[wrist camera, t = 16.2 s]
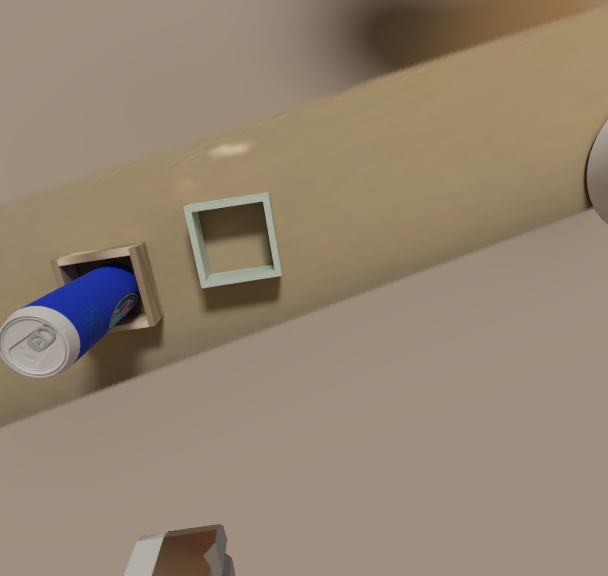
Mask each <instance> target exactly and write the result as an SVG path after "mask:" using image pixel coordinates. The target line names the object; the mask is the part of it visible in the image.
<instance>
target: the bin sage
mask: <svg viewBox="0 0 608 576" xmlns="http://www.w3.org/2000/svg"><path fill="white" fill-rule="evenodd" d="M262 201H263V204H264V210H265V216H266V222H267V228H268V234H269V240H270V246H271V251H272V257H273V263H274V264H272V265H266V266H259V267H253V268H247V269H240V270H234V271H227V272H221V273H215V274H211V270H210V266H209V261H208V256H207V252H206V247H205V242H204V238H203V233H202V228H201V224H200V219H199V214H198V211H203V210H210V209H216V208H223V207H229V206H236V205H243V204H249V203H256V202H262ZM183 208H184V212H185V217H186V221H187V226H188V230H189V235H190V239H191V244H192V248H193V252H194V257H195V261H196V266H197V270H198V275H199V279H200V284H201V288H207V287H214V286H220V285H227V284H233V283H239V282H246V281H252V280H259V279H265V278H271V277H278V276H282V268H281V262H280V256H279V250H278V244H277V238H276V232H275V225H274V219H273V213H272V207H271V201H270V195H269V192H267V193H260V194H254V195H247V196H241V197H234V198H228V199H221V200H214V201H208V202H201V203H195V204H189V205H187V206H184V207H183Z"/></svg>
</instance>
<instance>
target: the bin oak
mask: <svg viewBox="0 0 608 576" xmlns="http://www.w3.org/2000/svg"><path fill="white" fill-rule="evenodd" d="M128 255H130V258H131V261H132V265H133V269H134V272H135V276H136V280H137V284H138V287H139V291H140V295H141V298H142V302H143V306H144V310H145V313H141V314H135V315H128V316H124V317H123V318H122V319H121V320H120V321H119V322H118V323H117V324H116V325H114V326H113V327H112V328H111V329H110V330H109V331H108V332H107V333H113V332H120V331H126V330H132V329H139V328H145V327H151V326H156V324H157V323H158V322H159V321H160V319H161V318H162V317H163V312H162V308H161V304H160V300H159V296H158V292H157V289H156V285H155V281H154V277H153V273H152V269H151V265H150V261H149V257H148V253H147V250H146V246H145V243H138V244H132V245H125V246H119V247H112V248H106V249H99V250H93V251H86V252H80V253H73V254H67V255H64V256H61V257H59V258H56V259H54V260H51V261H50V262H51V265H52V268H53V271H54V274H55V277H56V280H57V283H58V286H59V288H60V287H62V286H64V285H66V284H68V283H70V282H72V281H74V280H76V279H77V278H79V274H78V270H77V267H76V263H82V262H89V261H95V260H102V259H108V258H115V257H121V256H128ZM107 333H106V334H107Z"/></svg>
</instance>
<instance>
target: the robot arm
mask: <svg viewBox="0 0 608 576" xmlns="http://www.w3.org/2000/svg"><path fill="white" fill-rule="evenodd" d="M587 187H588V192H589V196H590V200H591V202H592V205H593V207H594V209H595V210H596V212H597V213H598V215H599V216H600V217H601V218H602V219H603V220H604V221H605V222H606V223H607V224H608V120H607V122H606V123H605V124H604V126H603V127H602V129H601V131H600V132H599V134H598V136H597V138H596V140H595V142H594V145H593V147H592V150H591V153H590V157H589V162H588V168H587ZM226 543H227V538H226V534H225V531H224V527H223V525H221V524H217V525H210V526H203V527H197V528H189V529H182V530H175V531H168V532H166V533H159V534H151V535H144V536H141V537H140V538H139V540H138V541H137V542H136V543H135V545H134V548H133V551H132V553H131V556H130V558H129V561H128V563H127V566H126V569H125V571H124V574H123V576H235V571H234V566H233V561H232V558H231V557H230V556H228V555H227V554H226V553H225V551H226Z"/></svg>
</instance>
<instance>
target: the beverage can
mask: <svg viewBox="0 0 608 576" xmlns="http://www.w3.org/2000/svg"><path fill="white" fill-rule="evenodd" d="M140 297H141V295H140V291H139V287H138V284H137V280H136V276H135V274H134V273H133V272H132V271H131V270H130V269H128V268H127V267H125V266H122V265H119V264H105V265H102V266H100V267H98V268H96V269H94V270H92V271H91V272H89V273H87V274H85V275H83V276H81V277H79V278H77V279H76V280H74V281H72V282H70V283H68V284H66V285H64V286H62V287H60V288H59V289H57V290H55V291H53V292H51V293H49V294H47V295H45V296H44V297H42V298H40V299H38V300H36V301H34V302H32V303H30V304H28V305H27V306H25V307H23V308H21V309H19V310H17V311H16V312H14V313H13V314H12V315H10V316H9V318H8V319H7V320H6V322H5V323H4V325H3V326H2V327H1V329H0V355H1V357H2V358H3V360H4V361H5V362H6V363H7V365H8V366H10V367H11V368H12V369H13V370H15V371H16V372H18V373H20V374H22V375H25V376H28V377H33V378H44V377H49V376H52V375H55V374H58V373H61V372H63V371H65V370H67V369H68V368H70V367H71V366H72V365H73V364H74V363H75V362H76V361H77V360H78V359H79V358H80V357H82V356H83V355H84V354H85V353H86V352H87V351H88V350H89V349H90V348H91V347H92V346H93V345H94V344H95V343H96V342H97V341H99V340H100V339H101V338H102V337H103V336H104V335H105V334H106V333H107V332H108V331H109V330H110V329H111V328H112V327H113V326H114V325H116V324H117V323H118V322H119V321H120V320H121V319H122V318H123V317H124V316H125V315H126V314H127V313H128V312H129V311H130V310H131V309H133V308H134V307H135V306H136V304H137V303H138V301H139V299H140Z"/></svg>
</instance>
